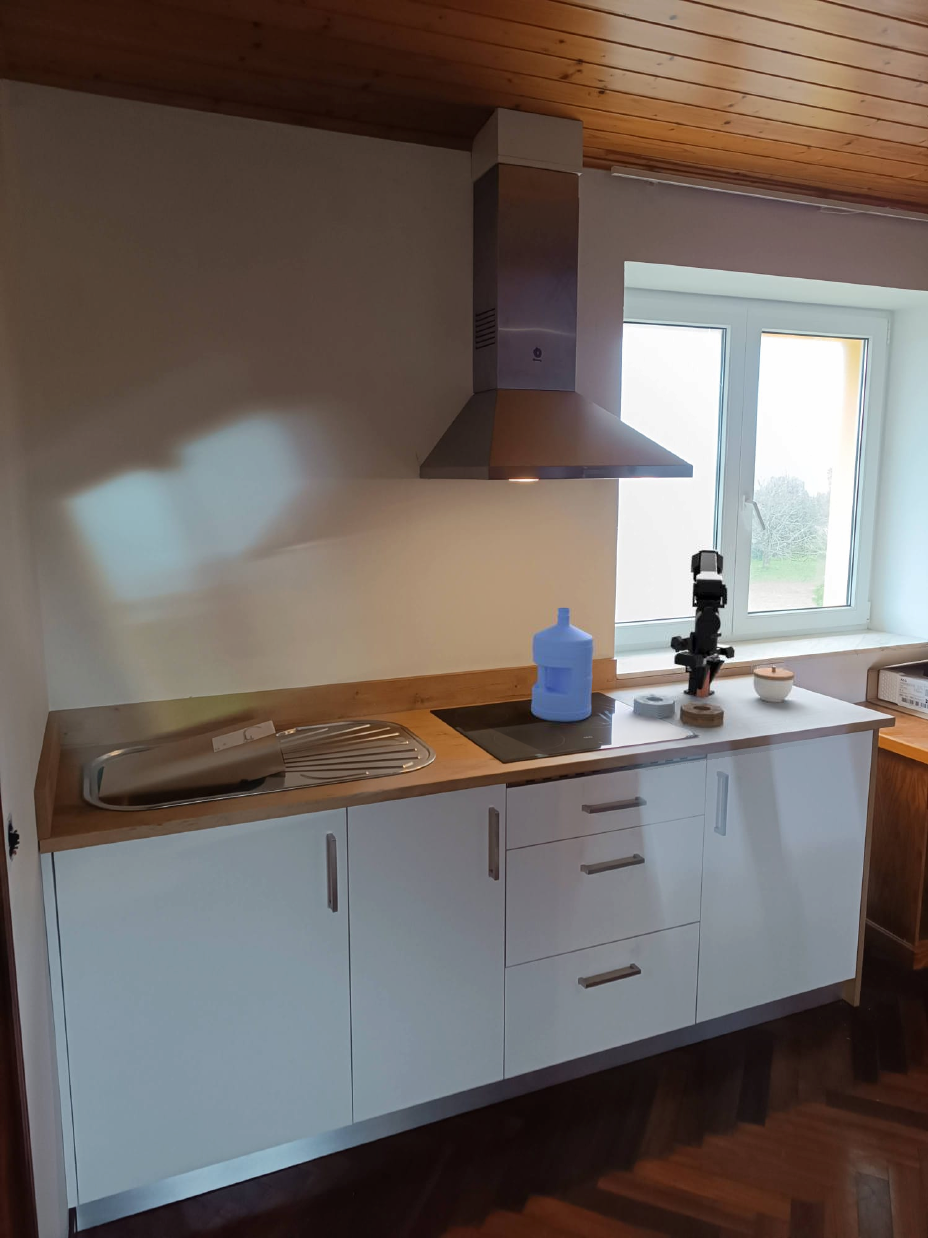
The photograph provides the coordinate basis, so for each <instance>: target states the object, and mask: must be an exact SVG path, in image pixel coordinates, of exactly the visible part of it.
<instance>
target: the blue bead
mask: <svg viewBox="0 0 928 1238" xmlns="http://www.w3.org/2000/svg"><path fill="white" fill-rule="evenodd" d="M632 710H633V712H634V713H635V714H637V715H639V716H641V717H647V718H655V719H659V718H660V719H662V718H669V717H670V718H671V717H672V716H674V714H675V713H676V699H674V698H672V697H670V696H668V695H663V694H653V693H648V694H637V695H636V696H635V697H634V698H633V709H632Z"/></svg>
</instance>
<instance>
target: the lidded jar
mask: <svg viewBox="0 0 928 1238" xmlns="http://www.w3.org/2000/svg"><path fill="white" fill-rule="evenodd" d="M752 675H753V679H752V680H753V681H752V682H753V688H754V691H755V693H756V695H757V696H759V698H760V700H761V701H766V702H771V703H780V702H783V701H784V699H786V698H787V697H789V695H790V693H791V691H792V689H793V685H794V678H795V674H794V673H793V672H792V671H790V670H786V669H781V668H777V666H776V665H773V666H771V667H760V668H756V669H753V672H752Z"/></svg>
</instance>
